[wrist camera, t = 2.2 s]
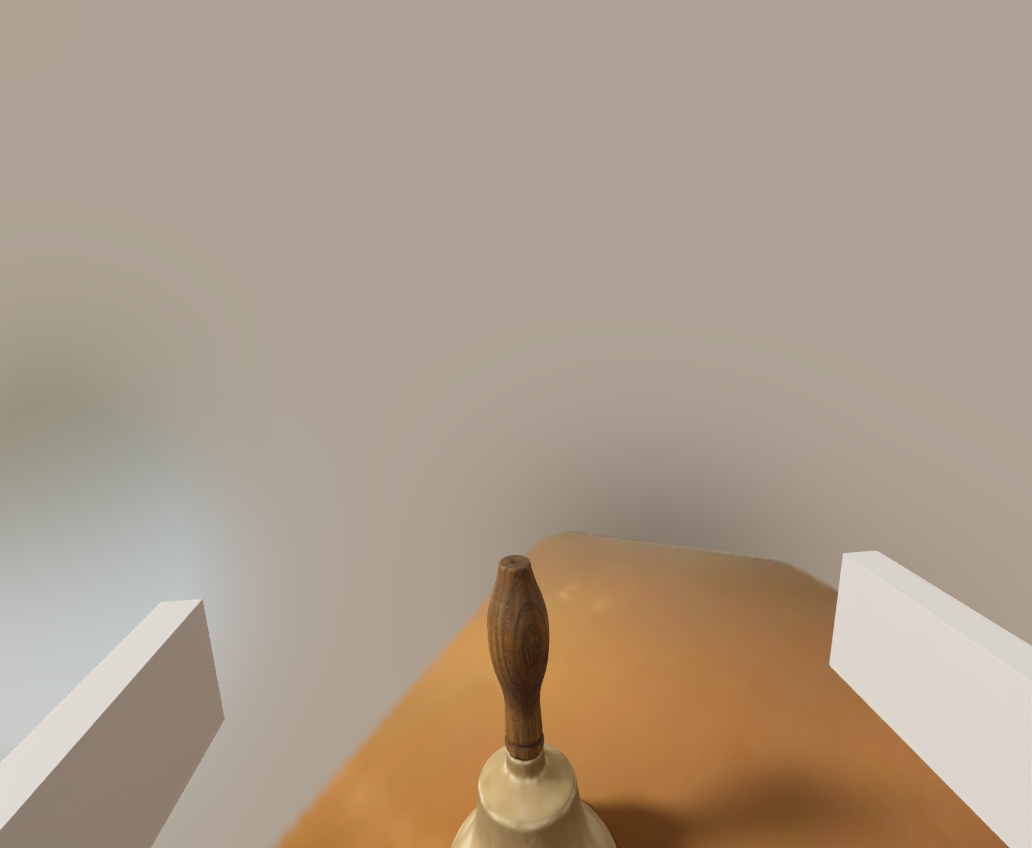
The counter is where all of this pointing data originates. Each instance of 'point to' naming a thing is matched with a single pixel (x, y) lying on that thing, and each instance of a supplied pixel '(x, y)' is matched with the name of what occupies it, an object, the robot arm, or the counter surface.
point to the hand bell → (526, 736)
